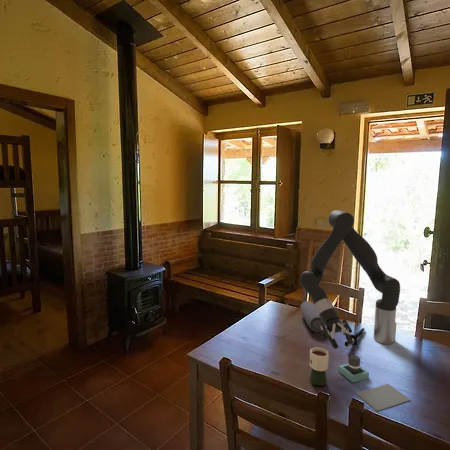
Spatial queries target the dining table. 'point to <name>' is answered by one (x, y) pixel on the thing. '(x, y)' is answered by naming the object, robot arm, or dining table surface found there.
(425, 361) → the dining table surface
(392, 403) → the grey mat
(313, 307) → the bluetooth speaker
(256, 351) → the dining table surface
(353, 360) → the dark grey cylinder
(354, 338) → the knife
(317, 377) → the character mug
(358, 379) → the green square frame
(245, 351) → the dining table surface
